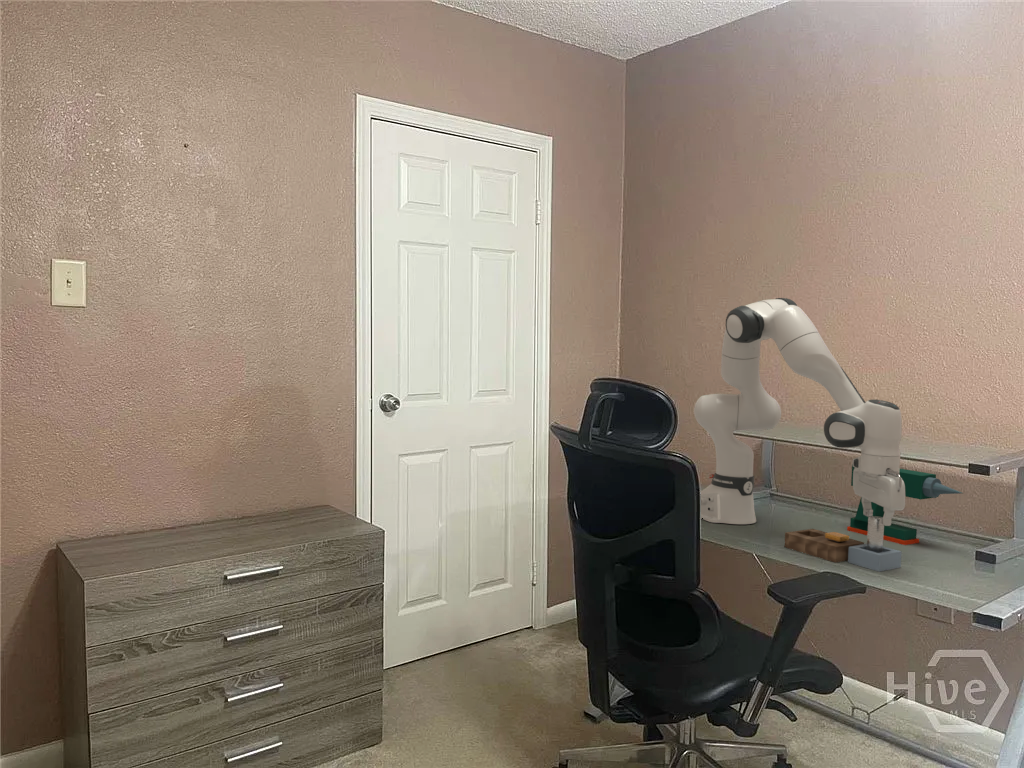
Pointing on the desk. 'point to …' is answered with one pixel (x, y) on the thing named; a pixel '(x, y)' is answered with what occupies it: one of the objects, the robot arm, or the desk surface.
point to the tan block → (837, 537)
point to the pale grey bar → (875, 534)
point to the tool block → (819, 545)
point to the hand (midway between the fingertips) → (876, 520)
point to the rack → (874, 558)
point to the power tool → (915, 487)
